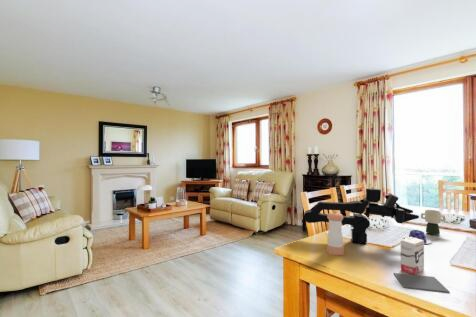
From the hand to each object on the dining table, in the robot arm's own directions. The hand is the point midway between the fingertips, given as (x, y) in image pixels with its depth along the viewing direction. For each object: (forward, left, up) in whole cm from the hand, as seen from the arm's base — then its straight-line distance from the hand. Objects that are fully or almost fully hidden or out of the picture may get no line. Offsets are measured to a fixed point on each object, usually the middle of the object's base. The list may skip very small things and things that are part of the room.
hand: (415, 214), depth 124 cm
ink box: (-11, -28, -16) cm, 35 cm away
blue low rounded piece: (+5, +12, -17) cm, 21 cm away
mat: (-13, -39, -16) cm, 44 cm away
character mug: (+18, +27, -16) cm, 36 cm away
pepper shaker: (-38, -16, -16) cm, 45 cm away
